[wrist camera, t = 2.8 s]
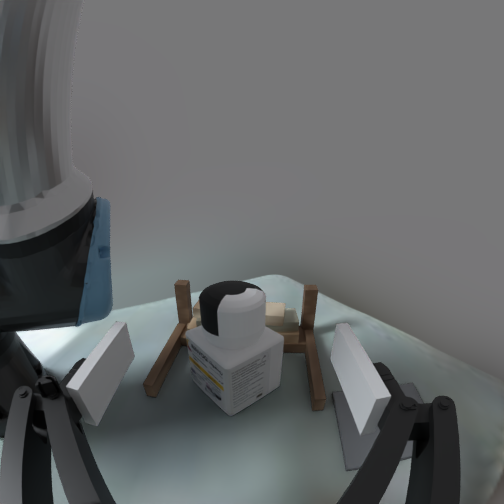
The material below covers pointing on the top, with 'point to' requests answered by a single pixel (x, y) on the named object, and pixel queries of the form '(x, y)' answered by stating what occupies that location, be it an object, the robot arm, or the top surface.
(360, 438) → the rubber mat
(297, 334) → the offcut stack
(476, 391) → the top surface
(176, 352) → the walnut rack
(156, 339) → the top surface
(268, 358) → the container
